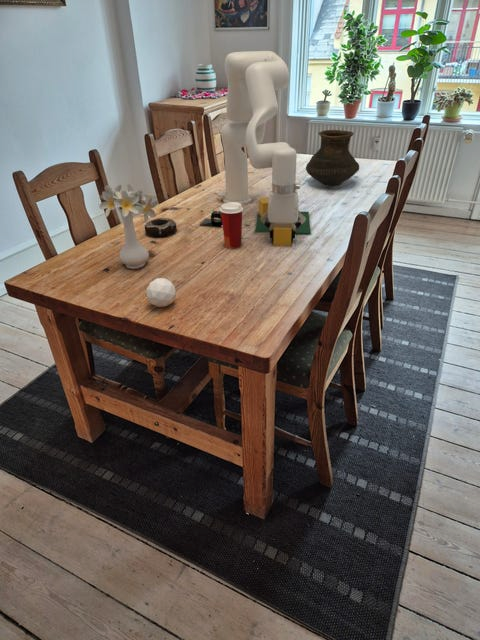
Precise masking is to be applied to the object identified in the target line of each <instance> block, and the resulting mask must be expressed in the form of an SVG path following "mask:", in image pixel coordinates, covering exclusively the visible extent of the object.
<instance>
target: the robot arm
mask: <svg viewBox="0 0 480 640" xmlns="http://www.w3.org/2000/svg"><path fill="white" fill-rule="evenodd" d="M224 71H225V75H226V78H227V79H226V80H227V91H226V92H227V94H226V95H227V96H226V117H227V119H228V120H229V121H230V122H227V123H225V124H224V125H222V127H221V129H220V138H221V142H222V149H223V155H224V156H223V157H224V174H225V177H224V178H225V189H223V190H216V191H215V195H216V196H217V197H219V198H222V202H223V204H225V203H230V202H235V203H240V204H241V205H244V204H247V203H250V202H252V201H253V196H252V195H250V194H249V166H248V165H249V163H250V165H251V167H252V168H253V169H255V170H263V169H271V190H270V191H269V194H268V197H269V201H268V211H267V212H266V213H265V214H264V215H263V216H262V217H261V218H260V221H261V222H262V223H263V224H265V226H266V227H267V228H268V229H269V230H270V233H269V239H271V242H273V241H274V225H275V223H291V226H292V233H291V243H293V242H294V239H296V234H295V231H296V229H297V228H298V227H300V226H301V224H303V223H304V222H305V221H306V218H305V217H304V216H303V215H302V214H301V213H300V212H301V211H300V210H299V194H298V191H297V190H300V189H301V184H298V183H296V181H297V179H296V177H297V150H296V149H295V148H293V147H291V146H290V144H289V143H287V142H286V141H285V142H284V141H279V142H278V141H277V142H268V143H267V142H266V143H263V141H264V138H265V133H266V126H267V122H268V121H269V120H271V119H273V118H274V117H275V116H276V115H277V114H278V113H279V104H278V99H277V94H276V91H282V90H285V89H287V87H288V86H289V84H290V71H289V67H288V66H287V63H286V62H285V61H284V60H283V59H282V58H281V57H280V56H279V55H278V54H277V53H276V52H275V51H271V50H257V51H255V50H253V51H234V52H230V53H228V54H227V55H226V57H225V59H224ZM242 148H246V152H247V154H246V153H245V151H244V150H243V149H242ZM248 160H249V163H248ZM267 217H268V221H269V222H271V223H269V222H268V221H266V218H267ZM298 217H299V218H300V221H298ZM297 221H298V222H297ZM295 222H297V223H296V224H295Z"/></svg>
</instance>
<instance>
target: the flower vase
mask: <svg viewBox="0 0 480 640" xmlns="http://www.w3.org/2000/svg"><path fill="white" fill-rule="evenodd" d="M122 187H123V186H122V185H121V184H118V185H116V186H115V187H114V189H113V188H112V187H111V186H110V185H105V186H104V190H103V191H102V194H101V195H99V197H98V198H99V200H104V201H103V202H101V203H100V204H99V206H98V208H99V209H100V210H105V215H104V216H105V217H106V218H108V217H109V215H110V213H111V211H114V210H115V209H116V207H117V210H118V212H119V213H120V217H121V219H122V224H123V230H124V244H123V245H122V248H121V249H120V251H119V253H118V259H119V262H121V263H122V264H123V265H125V267H126V268H127V269H130V270H137V269H141V268H143V267H144V266H145V265H146V262H147V261H148V259H149V257H150V252H149V251H148V249H147V247H145V246H144V245H143V244H142V243H141V242H140V241H139V239H138V236H137V233H136V229H135V224H134V218H133V217H134V216H133V214H136V215H138V214H140V210H139V208H138V207H140V208H142V211H141V214H143V221H144V223H145V224H146V223H147V222H148V221H149V217H150V218H153V219H154V218H155V217H156V212H155V210H154V209H153V208H156V207H157V205H158V203H159V200H154V201H153V198H152V197H149V198H148V200H147V198H146V196H145V195H144V194H143V190H142V189H140V188H139V186H138V185H136V190H134V188H133V185H132V184H131V183H127V190H122ZM146 200H147V201H146Z"/></svg>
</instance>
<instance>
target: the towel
mask: <svg viewBox="0 0 480 640" xmlns="http://www.w3.org/2000/svg"><path fill="white" fill-rule="evenodd" d="M299 212H300V213H301V214H302V215H303V216H304V217H305V218H306V221H305V222H304V223H303V224H301V226H300V227H298V228H297V229H296V231H295V235H311V234H312V233H311V223H310V215H309V214H310V213H309V211H299ZM260 218H261V216H260V214H259V211H258V212H257V217H256V224H255V231H254V234H255V233H258V234H260V233H261V234H270V230H269V229H268V228H267V227H266V226H265V224H263V223H262V222H261V221H260ZM266 221H268V218H266ZM298 221H300V218H299V217H298ZM298 221H297V222H298ZM268 222H269V221H268ZM297 222H295V224H296V223H297ZM269 223H271V222H269Z"/></svg>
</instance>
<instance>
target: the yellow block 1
mask: <svg viewBox="0 0 480 640" xmlns="http://www.w3.org/2000/svg"><path fill="white" fill-rule="evenodd" d="M257 200H258V212H259V214H260V216H261V217H262V216H263V215H264V214H265V213H266V212H267V211H268V201H269V196H268V197H261V198H258V199H257ZM267 218H268V217H267Z"/></svg>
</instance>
